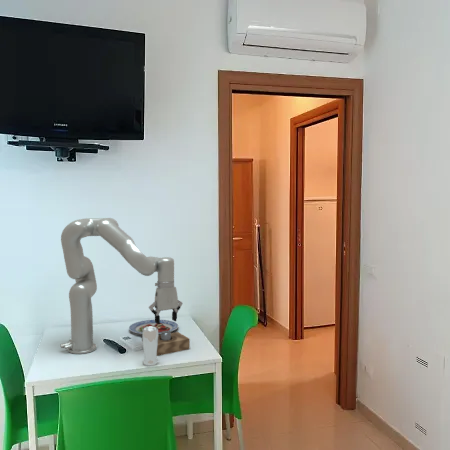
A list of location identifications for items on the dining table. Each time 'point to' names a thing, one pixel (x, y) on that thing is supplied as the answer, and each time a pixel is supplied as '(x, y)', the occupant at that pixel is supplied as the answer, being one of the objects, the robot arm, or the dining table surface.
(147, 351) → the beer glass
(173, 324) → the ceramic plate
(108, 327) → the dining table surface
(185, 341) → the block
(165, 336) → the grey cylinder
